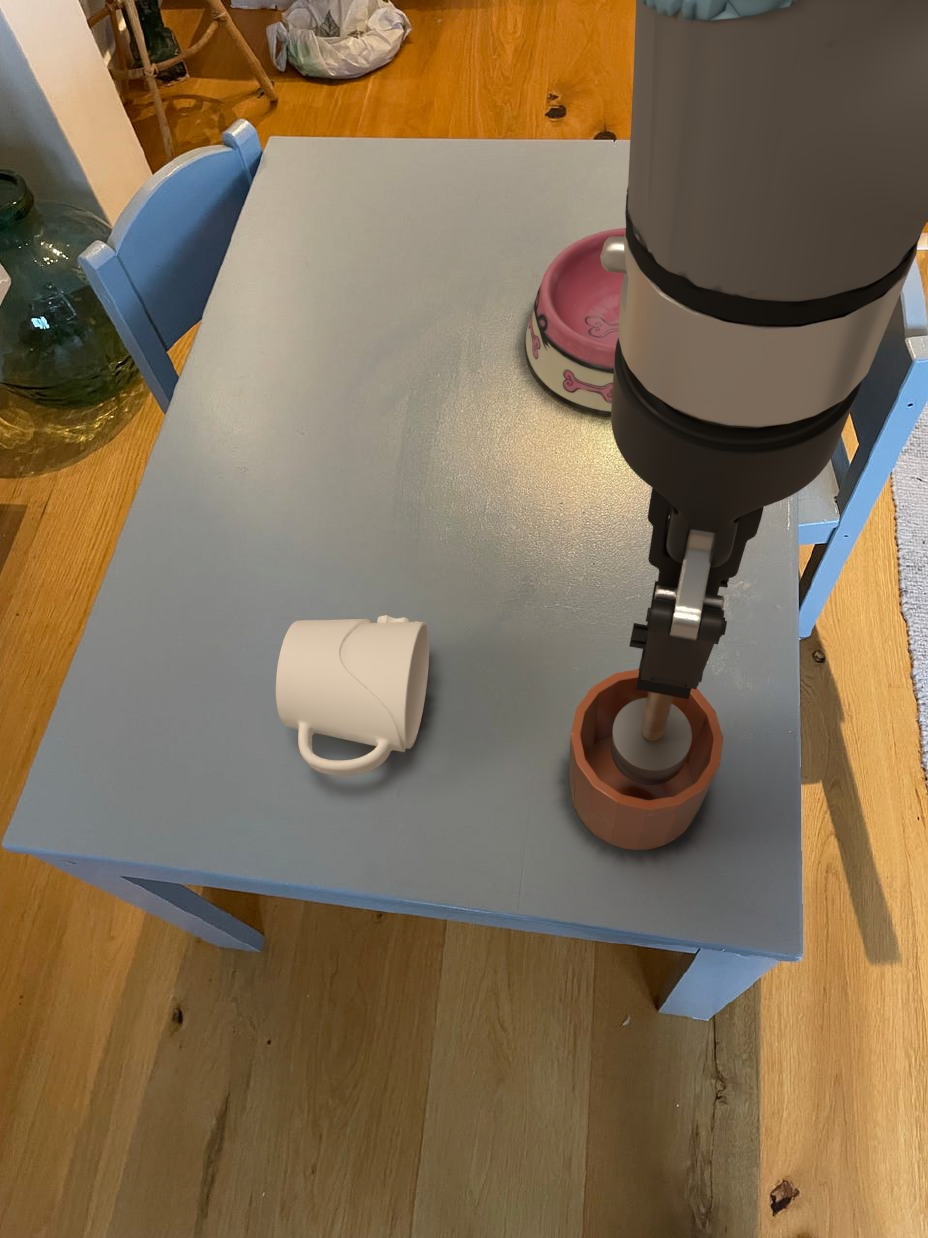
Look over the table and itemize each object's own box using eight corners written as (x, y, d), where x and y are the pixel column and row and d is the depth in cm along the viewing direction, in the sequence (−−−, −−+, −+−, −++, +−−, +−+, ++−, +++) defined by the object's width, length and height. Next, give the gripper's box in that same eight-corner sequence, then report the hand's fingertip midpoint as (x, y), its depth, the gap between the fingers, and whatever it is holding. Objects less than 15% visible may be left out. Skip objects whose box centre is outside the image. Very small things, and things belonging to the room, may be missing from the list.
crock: (708, 740, 68) (730, 684, 59) (690, 863, 64) (711, 823, 55) (583, 715, 69) (587, 657, 61) (558, 833, 65) (558, 790, 57)
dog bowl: (513, 286, 91) (510, 227, 85) (702, 260, 91) (712, 199, 85) (538, 432, 82) (537, 378, 76) (748, 404, 82) (763, 347, 76)
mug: (319, 640, 74) (294, 591, 67) (434, 649, 73) (421, 600, 66) (286, 784, 69) (255, 746, 62) (409, 797, 68) (392, 760, 61)
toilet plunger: (691, 722, 60) (748, 544, 41) (680, 792, 58) (735, 638, 39) (617, 707, 61) (640, 527, 42) (604, 776, 59) (622, 618, 40)
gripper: (653, 178, 32) (619, 545, 53) (571, 517, 26) (569, 783, 47) (881, 196, 31) (754, 567, 51) (853, 561, 24) (721, 816, 45)
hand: (666, 669), depth 49 cm, fingers closed on toilet plunger
